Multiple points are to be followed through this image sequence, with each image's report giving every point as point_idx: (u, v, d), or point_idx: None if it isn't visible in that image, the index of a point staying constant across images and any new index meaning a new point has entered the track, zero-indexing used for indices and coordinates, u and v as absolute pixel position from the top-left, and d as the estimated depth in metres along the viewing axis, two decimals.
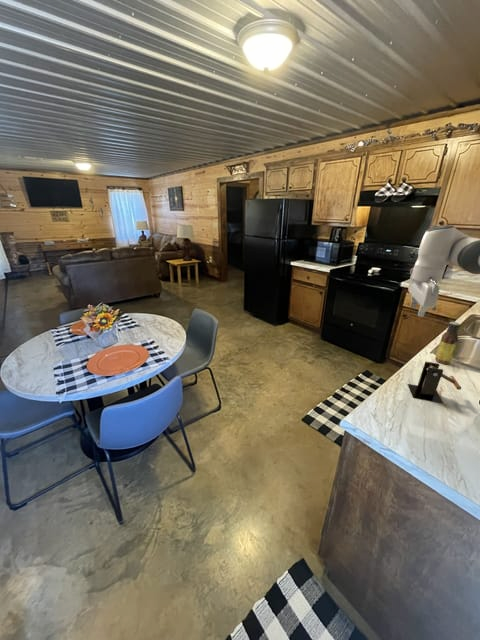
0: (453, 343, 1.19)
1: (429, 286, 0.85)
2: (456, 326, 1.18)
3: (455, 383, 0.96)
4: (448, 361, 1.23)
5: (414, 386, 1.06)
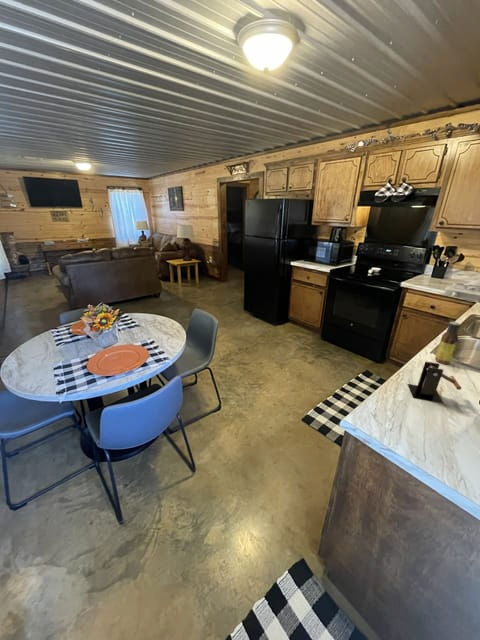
0: (453, 343, 1.19)
1: None
2: (456, 326, 1.18)
3: (455, 383, 0.96)
4: (448, 361, 1.23)
5: (414, 386, 1.06)
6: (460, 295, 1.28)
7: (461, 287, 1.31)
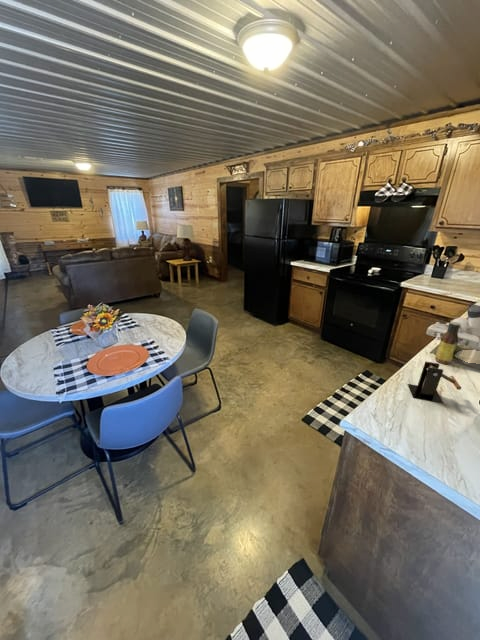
0: (453, 343, 1.19)
1: None
2: (456, 326, 1.18)
3: (455, 383, 0.96)
4: (448, 361, 1.23)
5: (414, 386, 1.06)
6: None
7: (443, 327, 1.30)
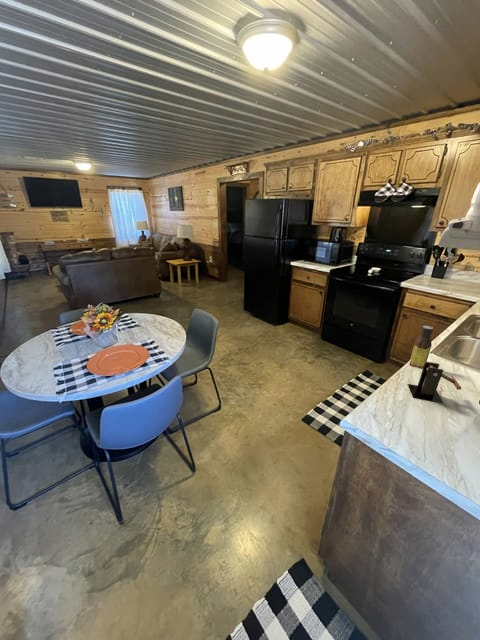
0: (426, 347, 1.15)
1: None
2: (429, 330, 1.14)
3: (455, 383, 0.96)
4: (422, 366, 1.19)
5: (414, 386, 1.06)
6: None
7: (459, 232, 0.99)
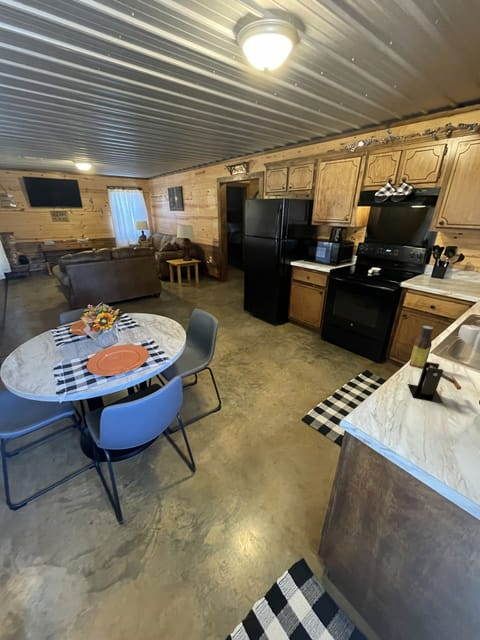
0: (426, 347, 1.15)
1: None
2: (429, 330, 1.14)
3: (455, 383, 0.96)
4: (422, 366, 1.19)
5: (414, 386, 1.06)
6: None
7: None
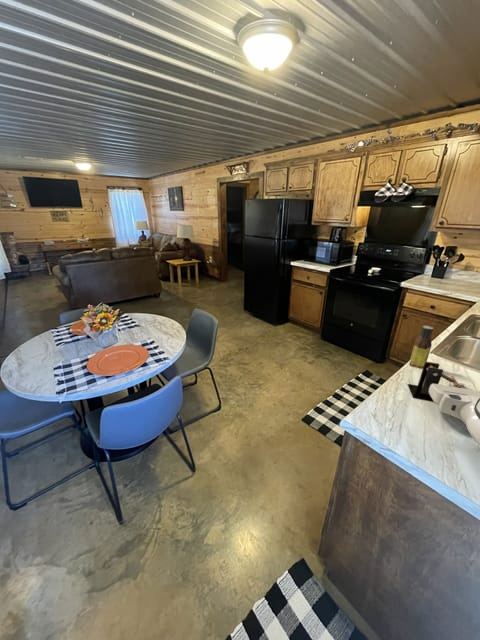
0: (426, 347, 1.15)
1: None
2: (429, 330, 1.14)
3: None
4: (422, 366, 1.19)
5: (414, 386, 1.06)
6: None
7: None
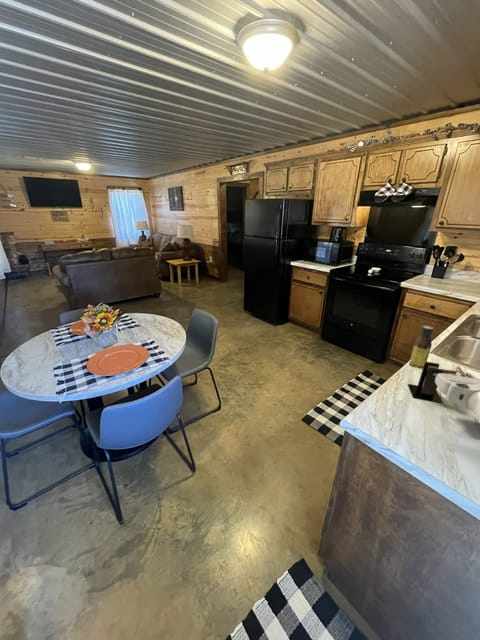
0: (426, 347, 1.15)
1: None
2: (429, 330, 1.14)
3: None
4: (422, 366, 1.19)
5: (414, 386, 1.06)
6: None
7: None
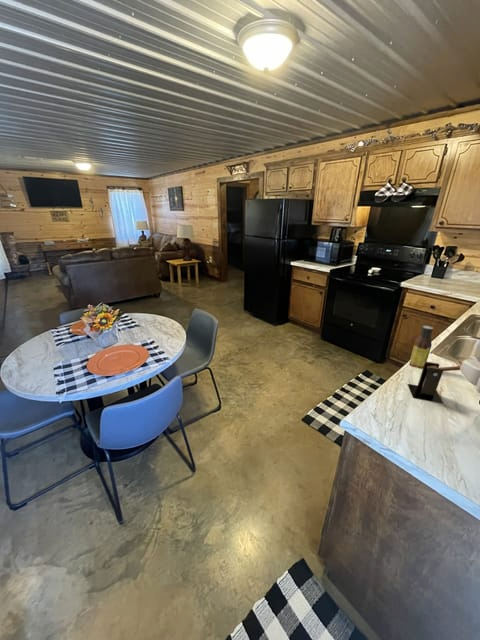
0: (426, 347, 1.15)
1: None
2: (429, 330, 1.14)
3: None
4: (422, 366, 1.19)
5: (414, 386, 1.06)
6: None
7: None
